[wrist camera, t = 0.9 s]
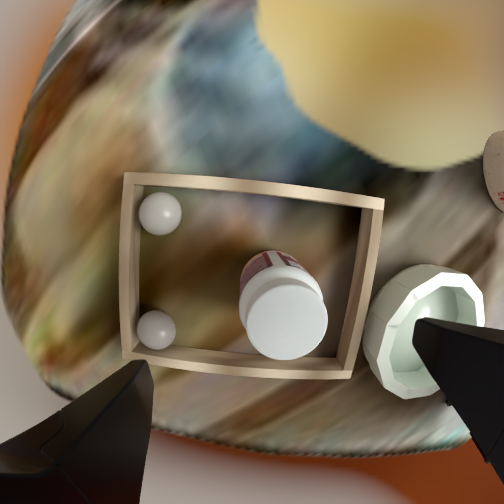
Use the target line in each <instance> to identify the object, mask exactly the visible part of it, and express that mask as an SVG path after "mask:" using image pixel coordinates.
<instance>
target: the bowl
mask: <svg viewBox="0 0 504 504" xmlns="http://www.w3.org/2000/svg"><path fill="white" fill-rule="evenodd" d="M423 317H429V318H435V319H440V320H446V321H451V322H457V323H463V324H469V325H475V326H481V327H483V325H484V322H485V321H484V307H483V296H482V293H481V291H480V290H479V289H478V288H477V286H476V285H475V284H474V282H473V281H472V280H471V279H470V277H469V276H468V275H467V274H464V273H461V272H458V271H456V270H453V269H450V268H447V267H440V266H436V265H432V264H419V265H414V266H411V267H408V268H406V269H404V270H402V271H401V272H399V273H397V274H396V275H395V276H393V277H392V278H391V279H390V280H389V281H388V282H387V283H386V284H385V285H384V286H383V287H382V288H381V289H380V291H379V292H378V293H377V295H376V296H375V298H374V299H373V301H372V303H371V305H370V307H369V309H368V311H367V315H366V319H365V324H364V328H363V332H362V347H363V351H364V354H365V357H366V359H367V361H368V362H369V365H370V368H371V370H372V372H373V373H374V374H375V376H376V377H377V379H378V380H379V381H380V383H381V384H382V385H383V387H384V388H385V389H387V390H389V391H390V392H392V393H394V394H396V395H397V396H399V397H401V398H403V399H410V398H417V397H423V396H429V395H431V394H433V393H435V392H436V391H438V390H439V389H440V388H439V386H438V385H437V383H436V382H435V381H434V379H433V378H432V377H431V375H430V373H429V372H428V370H427V369H426V367H425V365H424V363H423V362H422V360H421V358H420V357H419V355H418V354H417V352H416V350H415V349H414V347H413V345H412V337H413V331H414V325H415V322H416V320H417V319H420V318H423Z"/></svg>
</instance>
